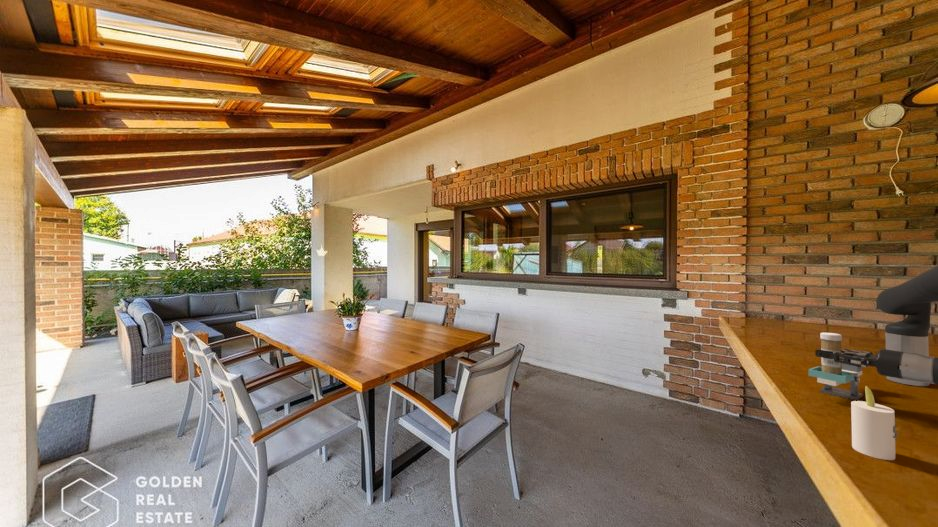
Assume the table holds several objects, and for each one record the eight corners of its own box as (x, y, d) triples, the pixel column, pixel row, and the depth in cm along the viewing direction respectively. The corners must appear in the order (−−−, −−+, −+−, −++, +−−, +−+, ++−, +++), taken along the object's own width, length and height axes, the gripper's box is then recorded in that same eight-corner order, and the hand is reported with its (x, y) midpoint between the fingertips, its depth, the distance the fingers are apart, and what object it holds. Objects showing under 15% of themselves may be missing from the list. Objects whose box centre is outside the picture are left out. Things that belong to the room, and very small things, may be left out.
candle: (892, 463, 71) (891, 394, 71) (847, 448, 76) (846, 385, 76) (900, 455, 73) (899, 389, 73) (856, 441, 79) (855, 380, 79)
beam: (836, 370, 117) (836, 354, 117) (871, 377, 110) (871, 360, 110) (808, 381, 104) (808, 363, 105) (845, 389, 97) (845, 370, 97)
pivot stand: (826, 388, 112) (826, 366, 112) (862, 396, 105) (862, 373, 105) (820, 391, 109) (819, 369, 109) (856, 400, 102) (856, 376, 102)
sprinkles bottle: (843, 376, 102) (842, 333, 102) (841, 379, 100) (840, 335, 100) (822, 372, 106) (821, 331, 106) (819, 375, 103) (818, 333, 103)
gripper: (911, 349, 94) (825, 337, 109) (899, 356, 87) (810, 342, 102) (911, 375, 94) (826, 360, 109) (900, 384, 87) (810, 366, 102)
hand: (818, 351), depth 105 cm, fingers closed on sprinkles bottle, 4 cm apart
